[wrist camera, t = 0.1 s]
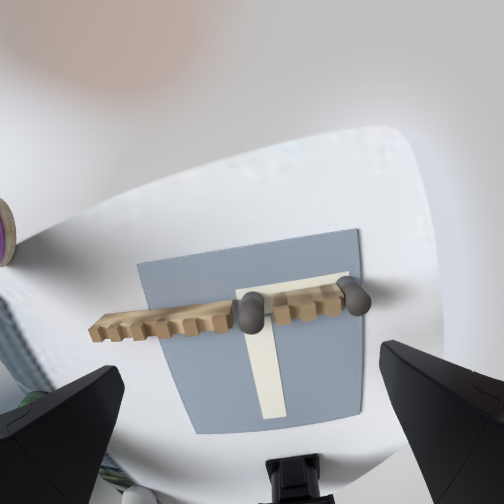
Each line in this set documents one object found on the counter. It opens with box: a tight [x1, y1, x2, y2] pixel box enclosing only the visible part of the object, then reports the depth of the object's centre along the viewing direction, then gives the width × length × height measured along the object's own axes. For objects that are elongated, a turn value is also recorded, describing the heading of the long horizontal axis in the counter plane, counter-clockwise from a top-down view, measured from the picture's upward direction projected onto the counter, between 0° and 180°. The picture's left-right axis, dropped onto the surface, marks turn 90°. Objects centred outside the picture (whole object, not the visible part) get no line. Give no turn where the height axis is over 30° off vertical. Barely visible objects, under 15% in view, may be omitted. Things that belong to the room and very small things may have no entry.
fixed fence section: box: [238, 276, 371, 335], centre depth 21 cm, size 2×9×4 cm, turn 99°
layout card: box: [137, 228, 362, 434], centre depth 25 cm, size 20×18×1 cm
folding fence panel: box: [88, 300, 235, 342], centre depth 22 cm, size 12×1×3 cm, turn 100°
